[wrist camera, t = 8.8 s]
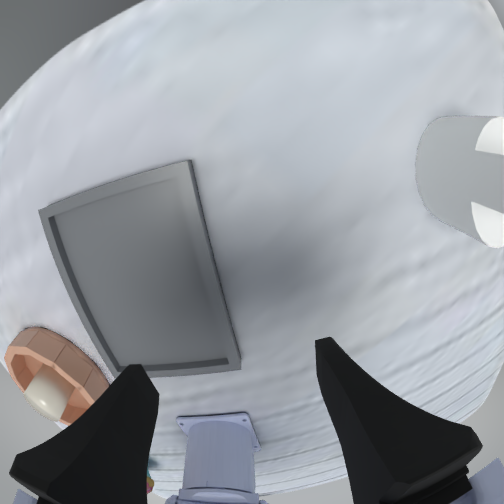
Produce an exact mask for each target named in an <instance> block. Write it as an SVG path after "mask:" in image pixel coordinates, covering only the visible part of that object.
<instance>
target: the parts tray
mask: <svg viewBox="0 0 504 504" xmlns="http://www.w3.org/2000/svg"><path fill="white" fill-rule="evenodd" d="M38 211H39V215H40V218H41V222H42V225H43V228H44V232H45V235H46V238H47V241H48V244H49V247H50V250H51V252H52V255H53V258H54V261H55V263H56V266H57V268H58V271H59V273H60V276H61V278H62V281H63V283H64V285H65V288H66V290H67V292H68V294H69V297H70V299H71V301H72V303H73V305H74V307H75V309H76V311H77V313H78V315H79V317H80V319H81V321H82V323H83V325H84V327H85V329H86V331H87V333H88V335H89V336H90V338H91V340H92V342H93V344H94V345H95V347H96V349H97V350H98V352H99V354H100V356H101V357H102V359H103V361H104V362H105V364H106V365H107V367H108V369H109V370H110V372H111V373H112V375H113V376H114V378H117V377H118V376H119V375H120V374H121V372H122V371H123V370H124V369H125V368H126V367H127V366H128V365H129V364H142V366H143V368H144V370H145V371H146V373H147V375H148V377H149V378H152V377H172V376H187V375H199V374H209V373H218V372H226V371H234V370H241V356H240V353H239V349H238V346H237V342H236V339H235V335H234V332H233V328H232V325H231V321H230V317H229V314H228V310H227V306H226V303H225V299H224V295H223V291H222V288H221V284H220V280H219V276H218V272H217V268H216V264H215V260H214V256H213V252H212V248H211V244H210V240H209V236H208V232H207V228H206V224H205V219H204V215H203V211H202V206H201V202H200V198H199V193H198V189H197V184H196V179H195V175H194V170H193V165H192V161H191V160H188V161H184V162H180V163H176V164H172V165H168V166H164V167H160V168H157V169H153V170H150V171H146V172H143V173H139V174H136V175H133V176H130V177H126V178H123V179H120V180H117V181H114V182H111V183H108V184H105V185H102V186H99V187H96V188H93V189H91V190H88V191H85V192H82V193H80V194H77V195H74V196H72V197H69V198H67V199H64V200H62V201H59V202H57V203H54V204H52V205H50V206H47V207H45V208H43V209H40V210H38Z"/></svg>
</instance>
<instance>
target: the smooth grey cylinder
mask: <svg viewBox="0 0 504 504" xmlns="http://www.w3.org/2000/svg"><path fill="white" fill-rule="evenodd" d="M74 390H75V386H74V385H72V384H71V383H70V382H69V381H67V380H66V379H65V378H64V377H63V376H61V375H60V374H59V373H58V372H57V371H56V370H55V369H53V368H52V367H50V366H48V365H46V364H44V363H43V364H42V366H41V367H40V369H39V370H38V372H37V373H36V375H35V376H34V378H33V379H32V381H31V383H30V384H29V386H28V387H27V389H26V390H25V392H24V397H25V399H26V401H27V402H28V404H29V405H30V406H31V407H32V408H33V409H34V410H35V411H37V412H38V413H39V414H40V415H42V416H43V417H45V418H47V419H49V420H52V421H56V422H57V421H59V420H60V418H61V416H62V414H63V412H64V410H65V407H66V405H67V403H68V401H69V399H70V397H71V395H72V393H73V392H74Z"/></svg>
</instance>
